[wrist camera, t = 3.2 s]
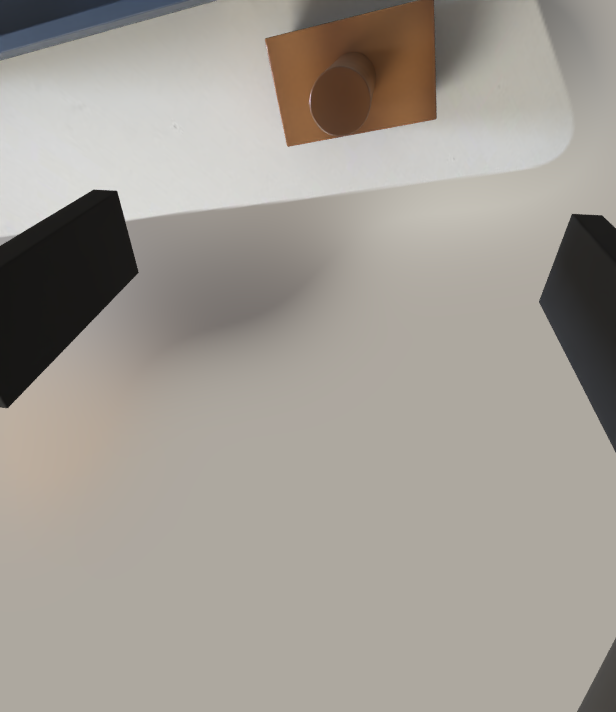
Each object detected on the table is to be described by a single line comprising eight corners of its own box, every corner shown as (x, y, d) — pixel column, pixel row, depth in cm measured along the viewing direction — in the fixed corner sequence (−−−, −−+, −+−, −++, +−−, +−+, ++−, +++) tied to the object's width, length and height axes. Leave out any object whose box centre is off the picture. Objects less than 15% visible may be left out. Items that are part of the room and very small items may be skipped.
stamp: (428, -2, 25) (451, -10, 16) (431, 107, 28) (451, 154, 19) (278, 35, 27) (220, 47, 18) (297, 133, 31) (256, 187, 21)
